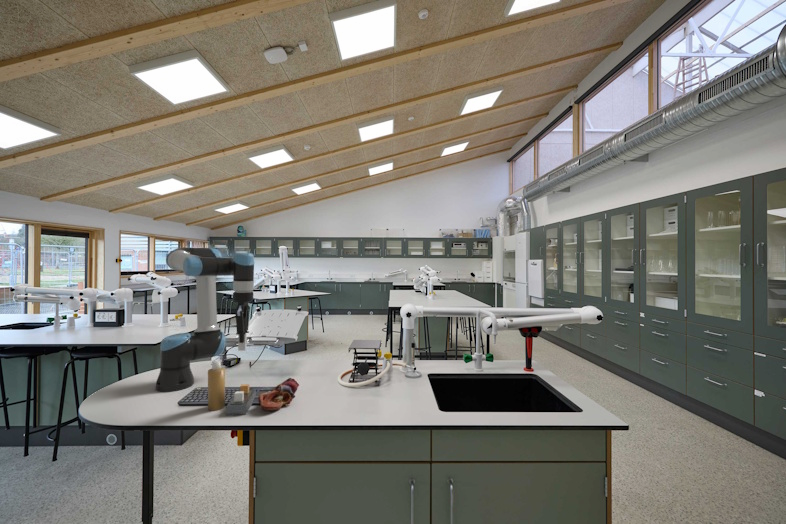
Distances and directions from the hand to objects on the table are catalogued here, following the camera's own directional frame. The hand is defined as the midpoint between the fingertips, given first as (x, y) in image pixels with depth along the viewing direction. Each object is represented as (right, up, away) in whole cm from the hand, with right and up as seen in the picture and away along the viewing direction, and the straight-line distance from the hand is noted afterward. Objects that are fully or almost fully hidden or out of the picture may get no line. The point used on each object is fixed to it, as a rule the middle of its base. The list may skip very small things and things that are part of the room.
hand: (242, 350), depth 140 cm
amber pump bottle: (-9, -22, -2) cm, 24 cm away
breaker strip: (-1, -22, +3) cm, 23 cm away
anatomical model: (+14, -23, 0) cm, 27 cm away
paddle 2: (-1, -19, +4) cm, 19 cm away
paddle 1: (+1, -19, -4) cm, 20 cm away
